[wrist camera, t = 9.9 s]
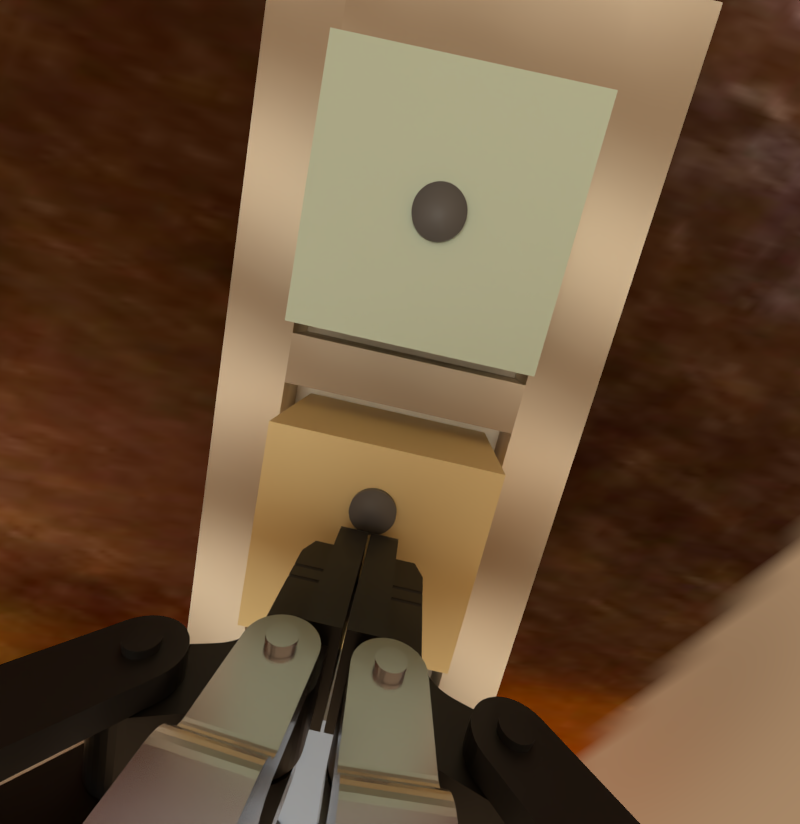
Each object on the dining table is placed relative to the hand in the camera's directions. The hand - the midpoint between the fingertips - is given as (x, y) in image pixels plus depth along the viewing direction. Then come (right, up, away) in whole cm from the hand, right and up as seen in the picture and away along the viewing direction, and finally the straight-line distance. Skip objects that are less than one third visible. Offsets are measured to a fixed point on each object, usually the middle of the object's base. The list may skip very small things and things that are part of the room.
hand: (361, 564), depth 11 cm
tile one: (+2, +9, +2) cm, 10 cm away
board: (0, +1, +5) cm, 5 cm away
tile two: (0, +1, +4) cm, 4 cm away
